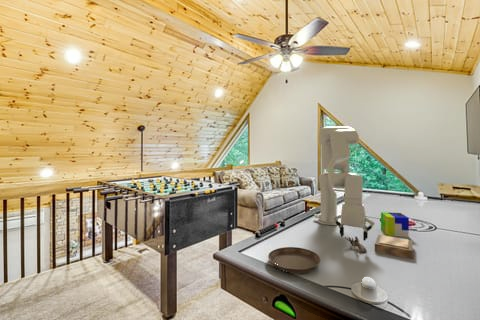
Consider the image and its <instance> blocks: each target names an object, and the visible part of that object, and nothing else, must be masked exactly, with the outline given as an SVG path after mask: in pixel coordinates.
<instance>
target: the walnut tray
mask: <svg viewBox="0 0 480 320" xmlns="http://www.w3.org/2000/svg"><path fill="white" fill-rule="evenodd" d="M413 249H414V247H413V239H407V238H401V237H396V236H395V237H394V236H388V235H382V234H377V236H376V239H375V242H374V252H375V253H381V254H385V255H389V256H390V255H391V256H395V257H401V258H404V259H405V258H406V259H410V260H411V259H412V260H413V259H414V258H413V254H414V250H413Z"/></svg>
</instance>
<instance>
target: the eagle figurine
mask: <svg viewBox="0 0 480 320" xmlns="http://www.w3.org/2000/svg"><path fill="white" fill-rule="evenodd" d="M354 237H355V238H354ZM354 237H352V238H351V237H348V238H347V237H346V236H345V237H344V239H345V240H346V241H348V242H349V243H350V245H351V250H354V249H355V248H356V247H357V249H358V252H359V253H358V254H363V255H365V254H367V252H368V250H367V249H366V247H365V246H364V245H363V244H361V243H360V238H359V237H358V236H357V235H355V236H354Z"/></svg>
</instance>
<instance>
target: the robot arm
mask: <svg viewBox="0 0 480 320" xmlns="http://www.w3.org/2000/svg"><path fill="white" fill-rule="evenodd" d="M318 133H319V134H318V137H319V141H320V142H319V143H320V146H321V166H322V169H323V170H326V171H325V172H322V173H320V174H319V177H318V182H319V189H320V214H318V213H317V214H316V213H314V214H313V216H314V218H315V219H317V222H318V224H320V225H325V226H338V229H339V235H340V237H341V238H342V237H344V236H345V226H347V227H354V228H361V229H363V232H362V233H363V234H362V235H363V238H362V239H363V241H366V239H368V234H369V233H368V232H369V231H370V230H371V229H373V227H374V225H375V222H374V221H373V220H371V219H370V218H368V217H366V210H365V205H364V204H363V177H362V175H360V174H357V173H356V172H350V169H351V168H350V166H351V165H350V158H351V156H352V153H351V149H350V146H357V144H358V143H359V140H360V135H359V133H358V132H357V130H355V129H354V128H352V127H350V126H325V127H321V128H320V130H319V132H318ZM337 171H339V172H337ZM334 189H344V197H341V199H340V200H341V201H343V203H342V205H341V211H340V212H341V213H340V215H338V213H337V210H338V209H337V208H338V207H337V205H338V196H337V193H336V191H335V190H334ZM339 219H340V220H339ZM366 223H368V224H369V225H368V226H367V225H366Z"/></svg>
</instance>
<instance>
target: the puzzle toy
mask: <svg viewBox="0 0 480 320" xmlns="http://www.w3.org/2000/svg"><path fill="white" fill-rule="evenodd" d="M409 224H410V218H409V217H408V216H406V215H405V214H403V213H401V212H386V211H385V212H384V211H383V212H380V230H381V231H382V232H383V233H384V234H385V236H389V237H394V236H395V237H408V238H409V234H410V233H409V230H410V229H409V228H410V227H409V226H410V225H409Z"/></svg>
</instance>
